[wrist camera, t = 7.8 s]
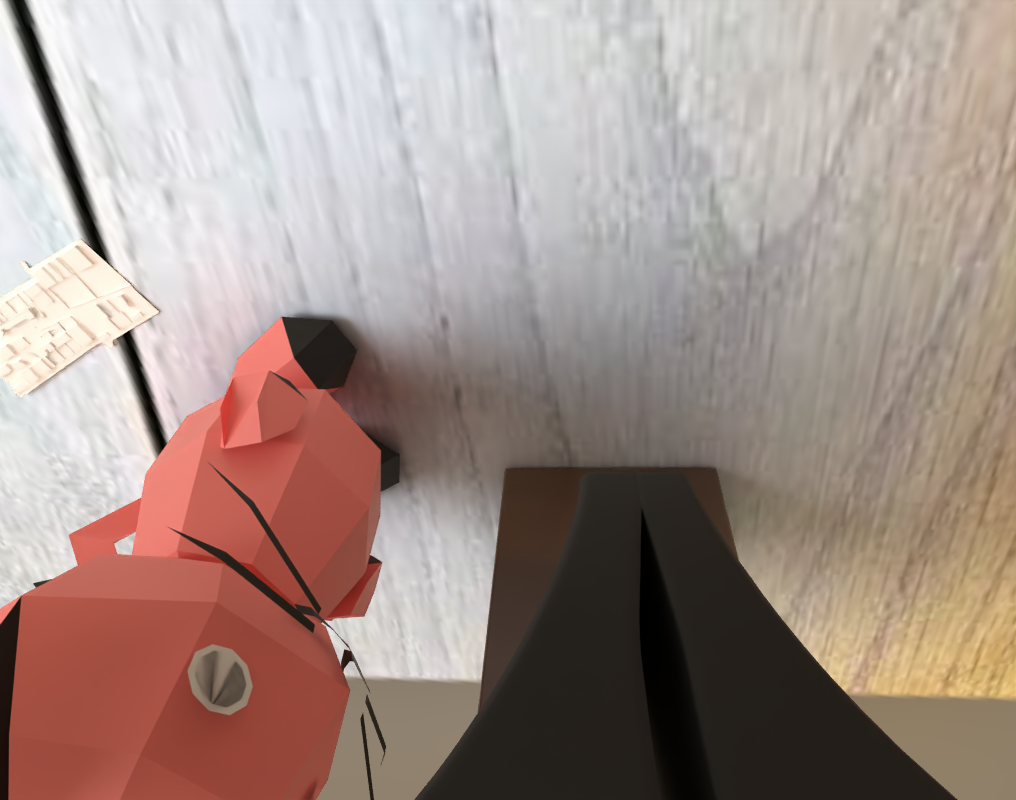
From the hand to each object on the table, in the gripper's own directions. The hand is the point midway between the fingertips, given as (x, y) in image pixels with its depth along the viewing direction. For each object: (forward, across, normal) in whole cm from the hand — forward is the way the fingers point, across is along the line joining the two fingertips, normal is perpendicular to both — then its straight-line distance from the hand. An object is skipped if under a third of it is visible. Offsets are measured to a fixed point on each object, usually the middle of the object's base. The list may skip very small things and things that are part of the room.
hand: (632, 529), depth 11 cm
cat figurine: (+7, +7, +3) cm, 10 cm away
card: (+7, +14, +2) cm, 16 cm away
